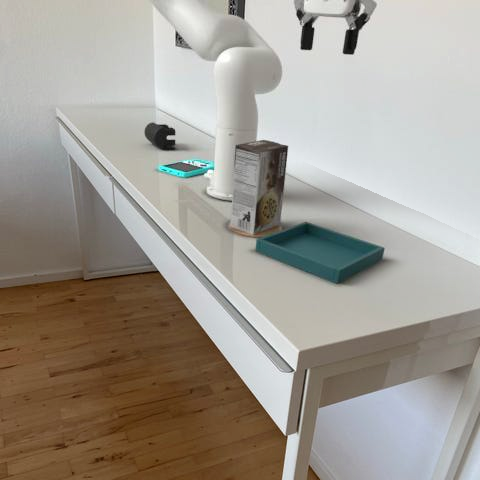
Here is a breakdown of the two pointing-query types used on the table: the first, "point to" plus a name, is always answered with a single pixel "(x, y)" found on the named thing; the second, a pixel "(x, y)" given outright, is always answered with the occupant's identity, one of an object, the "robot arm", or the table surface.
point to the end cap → (160, 135)
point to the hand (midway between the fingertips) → (326, 52)
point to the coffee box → (258, 185)
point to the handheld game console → (187, 167)
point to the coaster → (261, 234)
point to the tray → (320, 251)
